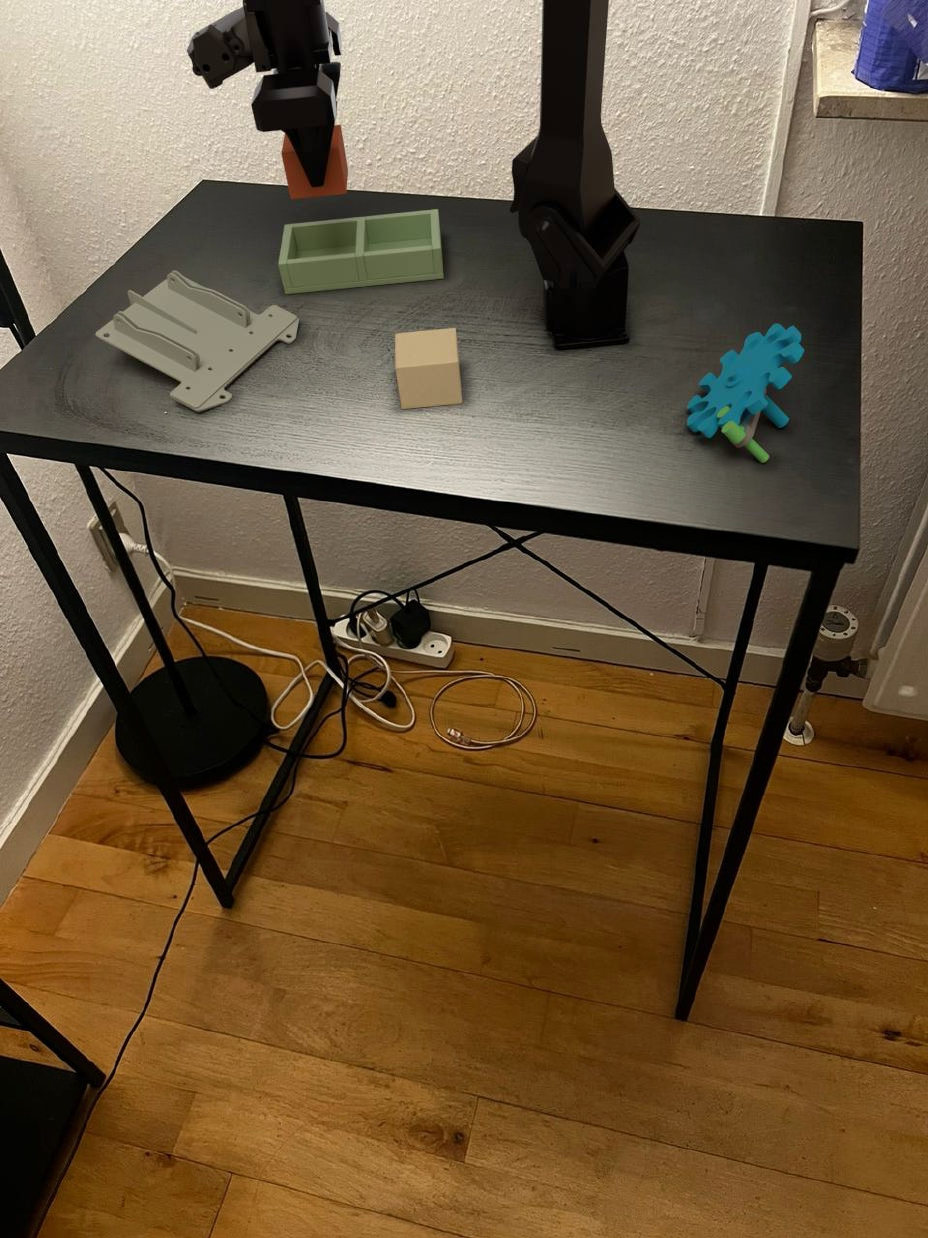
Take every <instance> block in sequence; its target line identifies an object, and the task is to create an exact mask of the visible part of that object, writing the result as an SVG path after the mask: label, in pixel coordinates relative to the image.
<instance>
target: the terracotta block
mask: <svg viewBox="0 0 928 1238" xmlns="http://www.w3.org/2000/svg"><path fill="white" fill-rule="evenodd" d="M281 159H282V164H283V168H284V173H285V178H286V183H287V186H288V187H287V188H288V191H289V196H290V199H291V200H296V199H297V200H298V199H307V198H317V197H327V196H335V195H336V196H337V195H346V194H347V190H348V178H349V177H348V176H349V167H348V160H347V155H346V149H345V141H344V135H343V129H342V125H341V124H335V126H334V131H333V136H332V142H331V147H330V152H329V158H328V163H327V169H326V175H325V180H324V185H323V186H322V187H312V186H311V185H310V183H309V181H308V179H307V176H306V174H305V172H304V170H303V168H302V166H301V163H300V161H299V159H298V157H297V155H296V153H295V150H294V148H293V146H292V144H291V142H290V140H289V138H288V136H287V135H286V134H285V133H284V137H283V141H282V148H281Z"/></svg>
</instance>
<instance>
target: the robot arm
mask: <svg viewBox="0 0 928 1238" xmlns="http://www.w3.org/2000/svg"><path fill="white" fill-rule="evenodd" d="M541 4H542V5H541V7H542V9H541V10H542V11H541V48H540V49H541V51H540V53H541V54H540V96H539V102H540V103H539V128H538V133H537V135H536V136H535V137H534V138H533V139H532V140H530V142H529V143H527V145H526V146H525V147H524V148H523V149H522V150H521V151H520V152H518V153H517V154H516V155H515V156H514V157H513V158H512V161H511V177H512V185H513V192H514V193H513V200H512V202H511V205H510V208H509V212H510V213H511V214H514V213H516V212H517V215H516V217H517V219H516V220H517V226H518V230H519V232H520V235H521V236H522V238H523V239H526V240H527V242H528V243H529V244H530V247H531V250H532V253H533V255H534V258H535V261H536V264H537V266H538V269H539V273H540V275H541V278H542V308H543V312H542V313H543V315H542V316H543V320H544V321H543V322H544V325H545V330H546V332H548V334H549V333H550V334H551V338H552V344H553V347H554V349H556V350H562V349H563V350H564V349H574V348H575V349H576V348H586V347H595V346H606V345H614V344H615V345H616V344H625V343H629V342H630V337H631V334H630V331H629V328H628V325H627V310H628V309H627V308H628V291H629V290H628V289H629V276H630V275H629V274H630V273H629V272H630V264H629V261H628V259H627V255H626V252H625V250H626V249H627V247H628V245H631V244H632V242H633V241H634V239H635V237H636V235H637V232H638V230H639V228H640V225H641V223H642V222H641V218H640V216H638V214H637V213H636V212H635V211H634V210H633V208H632V207H631V206H630V205H629V203H628V202H627V200H625V199H624V197H623V196H622V195H621V194H620V192H619V191H618V190H617V188H616V187H615V176H614V175H615V174H614V164H613V161H614V160H613V153H612V152H613V151H612V149H611V146H610V144H609V140H608V138H607V135H606V132H605V129H604V127H603V123H602V108H603V107H602V106H603V105H602V104H603V93H604V77H605V65H606V64H605V63H606V50H607V49H606V48H607V47H606V46H607V35H608V19H609V7H610V6H609V4H610V0H542V3H541ZM340 27H341V26H340V22H339V21H338V20H337V19H336V18H334V17H333V15H331V14H330V13H329V12H328V11H326V8H325V2H324V0H242V6H241V7H240V8H237V9H235V10H233V11H231V12H229V13H228V14H225V15H223V16H222V17H220V18H219V19H217V20H215V21H214V22H212V23H210V24H208V25H207V26H204V27H203V28H201V29H199V30H198V31H196V32H194V34H193V35H192V37H191V38H190V41H189V42H188V43H189V44H188V46H187V49H186V53H187V56H189V59H190V61H191V63H192V64H191V65H192V66H191V67H192V68H191V69H192V73H193V74H194V75H195V76H197V77H202V79H203V80H204V82H205V84H206V85H207V88H209V89H210V90H213V89H216V88H218V87H220V86H222V85H223V83H224V82H225V80H227V79H229V78H231V77H232V76H234V75H236V74H237V73H240V72H241V71H243V70H245V69H247V68H248V67H250V66H252V65H253V64H254V70H255V72H256V73H257V74H258V73H265V72H271V71H272V70H273V71H272V74H263V76H262V77H261V79H260V80H259V82H258V84H257V85H256V87H255V88H254V92H253V96H252V100H251V104H250V107H251V109H252V110H251V111H252V115H253V119H254V125H255V129H256V131H259V132H262V133H270V132H278V131H279V132H280V131H282V133H284V135H285V134H286V135H287V136H288V138H289V140H290V142H291V144H292V146H293V148H294V150H295V153H296V155H297V157H298V159H299V161H300V163H301V166H302V168H303V170H304V172H305V174H306V176H307V179H308V181H309V183H310V185H311V186H312V187H322V186H323V185H324V180H325V175H326V169H327V163H328V158H329V152H330V147H331V142H332V136H333V131H334V126H335V125H336V120H337V115H338V103H339V102H338V100H337V98H338V91H339V86H340V85H339V84H340V79H341V71H342V63H341V61H332V54H334V56H335V57H337V56H342V52H343V41H342V40H343V39H342V34H341V28H340Z"/></svg>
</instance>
